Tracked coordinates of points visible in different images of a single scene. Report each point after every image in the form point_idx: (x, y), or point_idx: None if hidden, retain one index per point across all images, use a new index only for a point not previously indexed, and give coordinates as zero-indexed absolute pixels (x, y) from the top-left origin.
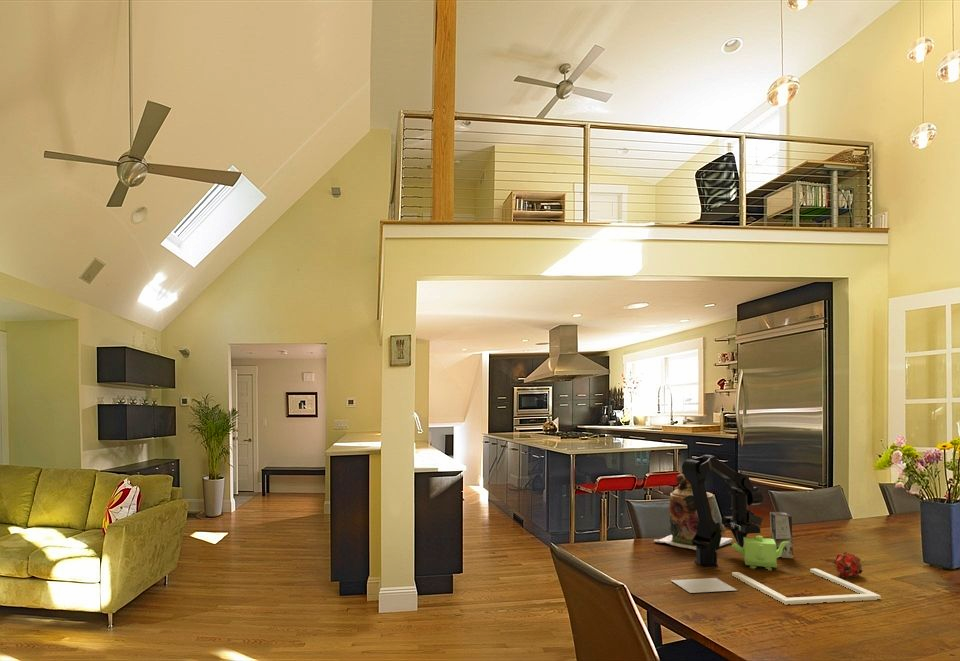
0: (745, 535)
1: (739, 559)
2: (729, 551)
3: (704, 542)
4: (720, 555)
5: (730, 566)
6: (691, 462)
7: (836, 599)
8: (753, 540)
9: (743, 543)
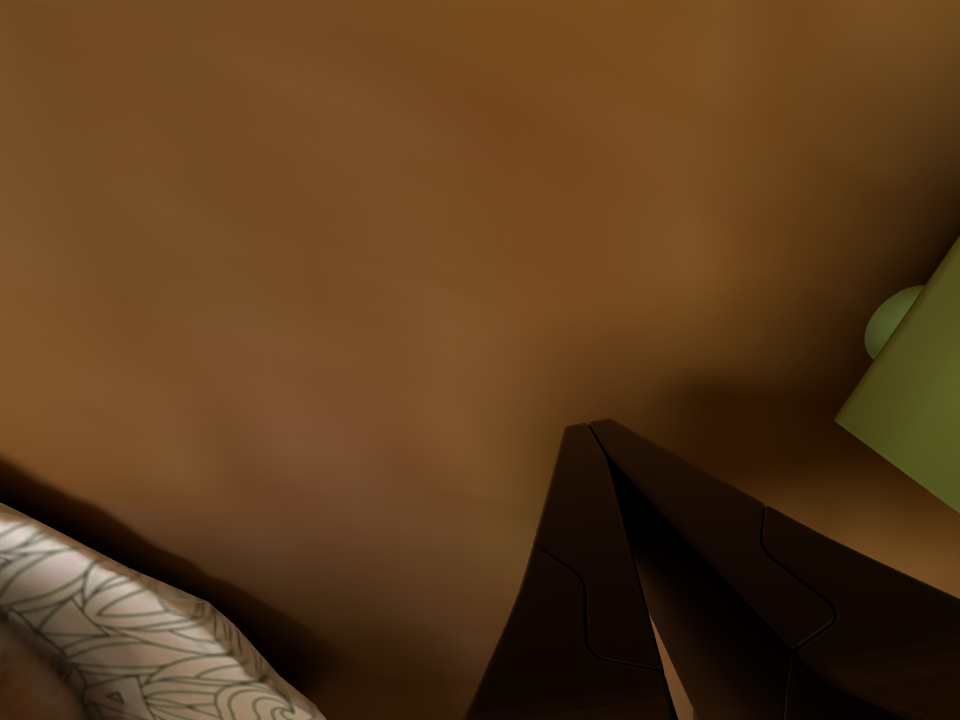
0: (946, 646)
1: (633, 404)
2: (179, 407)
3: (14, 691)
4: (431, 555)
5: (901, 570)
6: None
7: None
8: None
9: (666, 462)
